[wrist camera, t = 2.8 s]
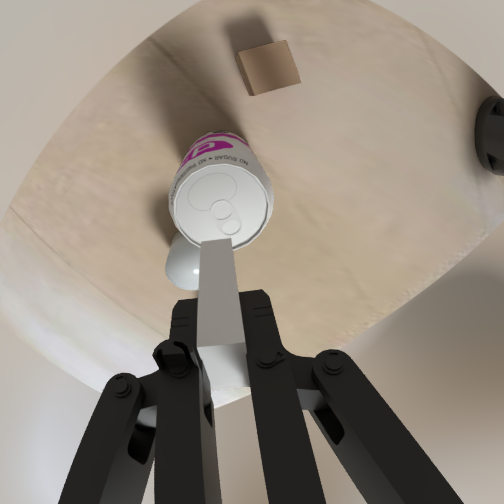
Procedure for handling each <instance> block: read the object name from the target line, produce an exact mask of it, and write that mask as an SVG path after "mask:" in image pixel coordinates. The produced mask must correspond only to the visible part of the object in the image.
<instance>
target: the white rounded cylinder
mask: <svg viewBox="0 0 504 504" xmlns="http://www.w3.org/2000/svg"><path fill="white" fill-rule="evenodd" d="M200 249H201V248H200V247H198V246H196V245H194V244H192V243H191V242H189V240H188V239H187V238H186V237H185V236H184V235H183V234H182V233H181V232H180V230H179V231H177V232H176V234H175V235H174V236H173V239H172V242H171V246H170V250H169V254H168V258H167V262H166V267H165V270H166V275H167V277H168V279H169V280H170V281H171V282H172V283H173V284H174V285H175V286H177V287H179V288H181V289H185V290H198V287H199V266H200Z"/></svg>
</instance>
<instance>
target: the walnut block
mask: <svg viewBox="0 0 504 504" xmlns="http://www.w3.org/2000/svg"><path fill="white" fill-rule="evenodd" d="M235 59H236V62H237V64H238V67H239V69H240V72H241V74H242V77H243V80H244V82H245V85H246V88H247V90H248V93H249V96H255V95H259V94H262V93H265V92H269V91H272V90H275V89H279V88H283V87H286V86H290V85H294V84H298V83H301V80H300V77H299V74H298V71H297V68H296V66H295V63H294V60H293V57H292V54H291V52H290V49H289V46H288V44H287V41H286V40H283V41H279V42H274V43H270V44H266V45H262V46H258V47H255V48H251V49H247V50H244V51H241V52H238V54H237V56H236V58H235Z"/></svg>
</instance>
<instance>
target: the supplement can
mask: <svg viewBox="0 0 504 504" xmlns="http://www.w3.org/2000/svg"><path fill="white" fill-rule="evenodd" d="M273 203H274V194H273V189H272V185H271V181H270V179H269V177H268V176H267V174H266V172H265V171H264V169H263V168H262V166H261V164H260V163H259V161H258V159H257V158H256V156H255V155H254V153H253V152H252V150H251V148H250V147H249V146H248V144H247V143H246V142H245V140H244V139H242V138H241V137H239V136H238V135H236V134H235V133H231V132H226V131H214V132H209V133H207V134H205V135H203V136H201V137H199V138H198V139H197V140H196V141H195V142H194V143H193V144H192V145H191V146H190V148H189V150H188V152H187V154H186V156H185V157H184V159H183V161H182V163H181V165H180V167H179V169H178V171H177V173H176V175H175V177H174V180H173V183H172V185H171V188H170V190H169V211H170V214H171V216H172V219H173V221H174V224H175V226H176V227H177V228H178V229H179V230H180V232H181V233H182V234H183V235H184V236H185V237H186V238H187V239H188V240H189V242H191V243H192V244H194V245H196V246H198V247H200V248H201V242H202V241H210V240H218V239H226V238H231V240H232V248H233V251H235V250H237V249H239V248H241V247H244V246H246V245H248V244H250V243H251V242H252V241H253V240H254V239H255V238H256V237H257V236H258V235H260V233H261V232H262V230H263V229H264V227H265V226H266V224H267V222H268V220H269V218H270V217H271V215H272V210H273Z"/></svg>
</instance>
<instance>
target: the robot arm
mask: <svg viewBox="0 0 504 504" xmlns="http://www.w3.org/2000/svg"><path fill="white" fill-rule="evenodd" d="M475 143H476V150H477V154H478V157H479V160H480V162H481V164H482V165H483V167H484V168H485V169H486V170H488V171H490V172H492V173H494V174H496V175H499V176H504V99H503V98H500V97H495V96H492V97H489V98H487V99H486V100H485V101H484V102H483V104H482V106H481V107H480V110H479V112H478V116H477V120H476V127H475ZM171 319H172V320H171V328H170V335H169V339H168V340H165V341H163V342H162V343H160V344H159V345H158V346H157V347H156V348H155V349H154V352H153V355H152V356H153V358H154V360H155V361H156V363H157V365H158V367H159V370H157V371H156V372H154V373H152V374H149V375H146V376H143V377H140V378H136V377H135V376H134V375H132V374H130V373H120V374H117V375H115V376H113V377H112V378H110V380H109V381H108V382H107V384H106V386H105V388H104V390H103V392H102V394H101V396H100V399H99V401H98V403H97V405H96V408H95V410H94V412H93V414H92V416H91V419H90V421H89V423H88V426H87V428H86V431H85V433H84V435H83V438H82V440H81V443H80V445H79V448H78V450H77V452H76V455H75V458H74V460H73V463H72V465H71V468H70V471H69V474H68V476H67V479H66V482H65V484H64V488H63V490H62V493H61V496H60V500H59V502H58V504H141V502H142V499H143V496H144V492H145V488H146V485H147V481H148V478H149V474H150V471H151V468H152V464H153V461H154V457H155V464H154V466H155V468H154V495H155V504H222V499H221V489H220V480H219V470H218V459H217V447H216V436H215V421H214V405H213V401H212V398H211V389H212V391H215V390H226V389H235V388H243V387H250V388H251V395H252V402H253V408H254V414H255V421H256V427H257V434H258V441H259V447H260V453H261V459H262V465H263V471H264V477H265V483H266V489H267V495H268V500H269V504H326V501H325V497H324V493H323V489H322V485H321V481H320V477H319V473H318V469H317V465H316V462H315V458H314V454H313V450H312V446H311V442H310V439H309V434H308V431H307V427H306V423H305V419H304V416H303V412H302V410H308V411H309V412H310V414H311V416H312V417H313V418H314V421H315V422H316V424H317V425H318V427H319V429H320V430H321V432H322V434H323V435H324V437H325V438H326V440H327V442H328V443H329V445H330V446H331V448H332V449H333V451H334V453H335V454H336V456H337V457H338V459H339V461H340V462H341V464H342V465H343V467H344V468H345V470H346V472H347V473H348V475H349V476H350V478H351V479H352V481H353V482H354V484H355V485H356V487H357V489H358V490H359V492H360V493H361V494H362V496H363V497H364V499H365V501H366V502H367V504H464V503H463V502H462V501H461V499H460V498H459V496H458V495H457V494H456V493H455V491H454V490H453V488H452V487H451V486H450V485H449V483H448V482H447V481H446V479H445V478H444V477H443V475H442V474H441V473H440V471H439V470H438V469H437V467H436V466H435V465H434V464H433V463H432V461H431V460H430V458H429V457H428V456H427V454H426V453H425V452H424V450H423V449H422V448H421V447H420V445H419V444H418V443H417V441H416V440H415V439H414V438H413V436H412V435H411V434H410V432H409V431H408V430H407V429H406V427H405V426H404V425H403V423H402V422H401V421H400V420H399V418H398V417H397V416H396V414H395V413H394V412H393V411H392V409H391V408H390V407H389V405H388V404H387V403H386V402H385V400H384V399H383V398H382V397H381V396H380V394H379V393H378V391H377V390H376V389H375V388H374V386H373V385H372V384H371V383H370V381H369V380H368V379H367V378H366V376H365V375H364V374H363V372H362V371H361V370H360V369H359V367H358V366H357V365H356V364H355V362H354V361H353V360H352V359H351V357H349V356H348V355H347V354H346V353H345V352H342V351H340V350H334V349H329V350H325V351H322V352H321V353H319V354H318V355H317V356H316V357H315V358H312V357H301V356H296V355H294V354H291V353H290V352H288V351H287V350H286V349H285V348H284V347H283V345H282V342H281V339H280V335H279V331H278V328H277V324H276V320H275V316H274V313H273V309H272V305H271V301H270V297H269V296H268V295H267V294H266V293H265V292H264V291H263V290H262V289H261V290H253V291H246V292H238V286H237V278H236V271H235V263H234V256H233V248H232V240H231V238H226V239H218V240H210V241H202V242H201V249H200V266H199V287H198V298H194V299H185V300H178V302H177V303H176V305H175V306H174V308H173V311H172V318H171ZM210 386H211V388H210Z"/></svg>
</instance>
